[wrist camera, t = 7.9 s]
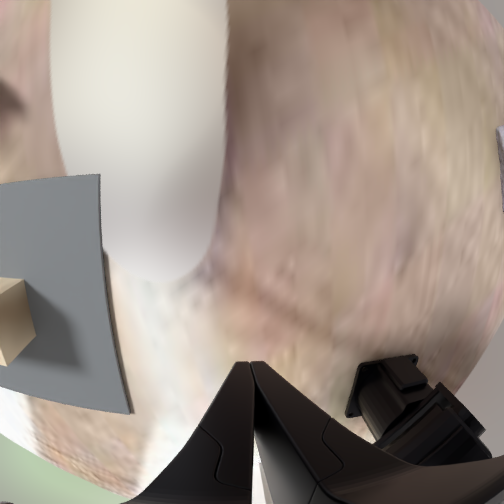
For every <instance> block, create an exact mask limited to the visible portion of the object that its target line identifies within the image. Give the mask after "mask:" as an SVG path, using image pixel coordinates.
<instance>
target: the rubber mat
mask: <svg viewBox="0 0 504 504" xmlns="http://www.w3.org/2000/svg"><path fill="white" fill-rule="evenodd" d="M0 277H2V278H15V279H24V283H25V289H26V294H27V299H28V304H29V308H30V313H31V317H32V321H33V325H34V329H35V333H36V337H35V338H34V339H33V340H32V341H31V342H30V343H29V344H28V345H27V346H26V347H25V348H24V349H23V350H22V351H21V352H20V353H19V354H18V355H17V357H16V358H15V359H14V360H13V361H12V362H11V363H10V364H9V365H8V366H3V365H0V386H1V387H4V388H7V389H10V390H13V391H16V392H20V393H23V394H26V395H30V396H34V397H37V398H41V399H45V400H49V401H54V402H58V403H62V404H67V405H72V406H77V407H82V408H87V409H93V410H99V411H105V412H112V413H119V414H127V415H130V412H131V411H130V408H129V404H128V400H127V396H126V393H125V389H124V384H123V380H122V376H121V371H120V367H119V362H118V357H117V352H116V347H115V342H114V336H113V331H112V325H111V318H110V312H109V305H108V297H107V290H106V281H105V271H104V261H103V248H102V233H101V207H100V174H91V175H90V174H89V175H76V176H65V177H54V178H45V179H36V180H27V181H19V182H12V183H5V184H0Z"/></svg>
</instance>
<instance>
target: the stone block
mask: <svg viewBox="0 0 504 504" xmlns="http://www.w3.org/2000/svg"><path fill="white" fill-rule="evenodd" d="M496 137H497V143H498V150H499V160H500V169H501V176H500V177H501V186H502V199H503V212H504V125H503V126H499V127H497V128H496Z"/></svg>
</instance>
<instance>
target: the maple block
mask: <svg viewBox="0 0 504 504" xmlns="http://www.w3.org/2000/svg"><path fill="white" fill-rule="evenodd" d="M35 337H36V333H35V329H34V325H33V321H32V317H31V313H30V308H29V304H28V299H27V294H26V289H25V283H24V279H15V278H2V277H0V365H3V366H8V365H9V364H10V363H11V362H12V361H13V360H14V359H15V358H16V357H17V355H18V354H19V353H20V352H21V351H22V350H23V349H24V348H25V347H26V346H27V345H28V344H29V343H30V342H31V341H32V340H33V339H34V338H35Z"/></svg>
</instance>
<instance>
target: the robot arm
mask: <svg viewBox="0 0 504 504" xmlns="http://www.w3.org/2000/svg"><path fill="white" fill-rule="evenodd" d="M417 362H418V356H416V355H415V354H412V355H406V356H400V357H394V358H388V359H383V360H377V361H371V362H364V363H361V364H360V365H359V366H358V368H357V372H356V376H355V379H354V383H353V387H352V390H351V394H350V397H349V401H348V404H347V408H346V411H345V415H346V417H347V418H353V417H358V416H362V418H363V419H364V421H365V423H366V424H367V426H368V428H369V430H370V431H371V433H372V435H373V437H374V438H375V440H376V442H375V443H373V444H371V443H369V442H367V441H366V440H364V439H362V438H361V437H359V436H357V435H356V434H354V433H353V432H351V431H350V430H348V429H347V428H346V427H344V426H343V425H341V424H340V423H339V422H337V421H336V420H335V419H334V418H331V416H330V415H328V414H327V413H326V412H324V411H323V410H322V409H321V408H319V407H318V406H317V405H316V404H314V403H313V402H312V401H311V400H309V399H308V398H307V397H306V396H304V395H303V394H302V393H301V392H300V391H298V390H297V389H296V388H295V387H294V386H292V385H291V384H290V383H289V382H288V381H286V380H285V379H284V378H283V377H282V376H280V375H279V374H278V373H277V372H276V371H275V370H273V369H272V368H271V367H270V366H269V365H268V364H266V363H265V362H264V361H251V362H250V363H249V362H247V361H244V362H235V364H234V365H233V367H232V369H231V371H230V372H229V374H228V376H227V377H226V379H225V381H224V383H223V384H222V386H221V388H220V389H219V391H218V393H217V394H216V396H215V398H214V399H213V401H212V403H211V405H210V406H209V408H208V410H207V411H206V413H205V414H204V416H203V418H202V419H201V421H200V423H199V424H198V427H196V429H195V431H194V432H193V434H192V435H191V437H190V438H189V440H188V441H187V443H186V444H185V446H184V447H183V448H182V450H181V451H180V452H179V453H178V454H177V456H176V457H175V458H174V459H173V460H172V461H171V462H170V463H169V465H168V466H167V467H166V468H165V469H164V470H163V471H162V472H161V473H160V474H159V475H158V476H157V477H156V478H155V480H154V481H153V482H152V483H151V484H150V485H149V486H148V487H147V488H146V489H145V490H144V491H143V492H142V493H140V494H139V495H138V496H136V497H135V498H133V499H131V500H129V501H127V502H124V503H121V504H252V484H253V453H254V436H255V440H256V444H257V447H258V451H259V455H260V459H261V462H262V466H263V470H264V473H265V477H266V480H267V484H268V487H269V491H270V494H271V498H272V501H273V504H504V455H502V456H499V457H495V458H492V454H491V453H490V451H489V449H488V448H487V447H486V446H485V444H484V443H483V442H482V441H481V440H480V439H479V437H480V436H481V435H482V434H483V433H484V432H485V428H484V427H483V426H482V425H481V424H480V422H479V421H478V420H477V419H476V418H475V417H474V416H473V415H472V414H471V413H470V411H469V410H468V409H467V408H466V407H465V406H464V405H463V404H462V403H461V402H460V401H459V400H458V399H457V398H456V397H455V396H454V395H453V394H452V393H451V392H450V391H449V390H448V389H447V388H446V387H445V386H444V385H443V384H442V383H441V382H439V383H438V384H437V385H436V386H435V389H434V390H433V389H432V388H431V387H430V386H429V384H428V379H427V378H426V377H425V376H424V375H423V374H422V373H421V371H420V370H419V369H418V368H417V367H416V365H417ZM364 367H365V368H364ZM363 368H364V369H363ZM0 504H13V503H10V502H0Z"/></svg>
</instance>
